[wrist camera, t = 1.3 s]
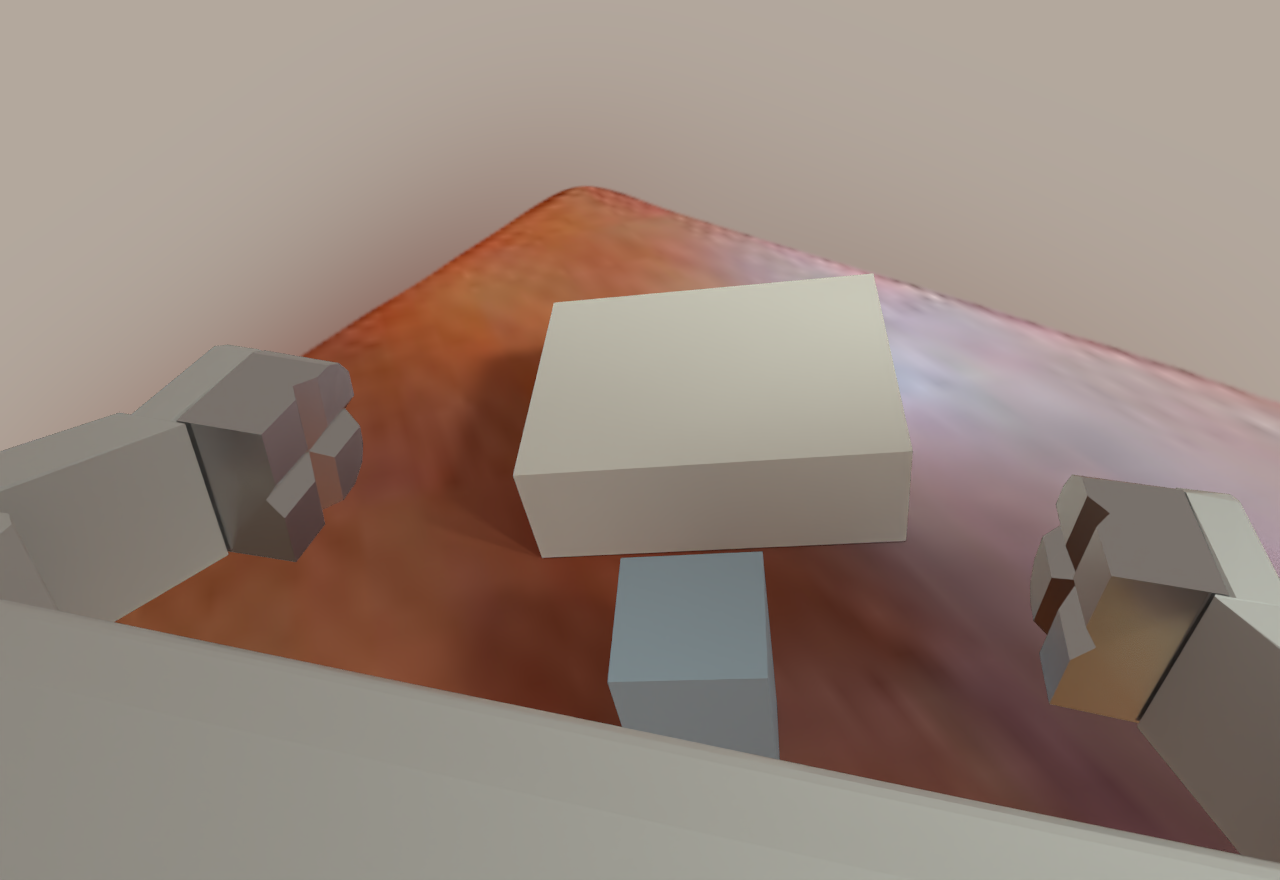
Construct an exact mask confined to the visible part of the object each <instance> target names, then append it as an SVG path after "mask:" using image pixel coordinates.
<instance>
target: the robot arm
mask: <svg viewBox="0 0 1280 880" xmlns="http://www.w3.org/2000/svg"><path fill="white" fill-rule="evenodd" d="M353 396H354V393H353V388H352V384H351V380H350V376H349V371H347V370H346V369H345V368H344V367H343V366H342V365H340V364H339V363H335V362H329V361H323V360H317V359H312V358H306V357H300V356H294V355H289V354H282V353H277V352H271V351H265V350H264V351H261V350H259V349H253V348H246V347H240V346H233V345H222V346H214V347H213V348H212V349H210V350H209V351H208V352H207V353H205V354H204V355H203V356H202V357H200V358H199V359H198V360H197V361H196V362H194V363H193V364H192V365H191V366H190V367H188V368H187V369H186V370H185V371H183V372H182V373H181V374H180V375H179V376H177V377H176V378H175V379H174V380H172V381H171V382H170V383H169V384H168V385H166V386H165V387H164V388H163V389H162V390H160V391H159V392H158V393H157V394H156V395H154V396H153V397H152V398H151V399H150V400H148V401H147V402H146V403H145V404H143V405H142V406H141V407H140V408H138V409H137V410H136V411H135V412H134V413H132V414H123V413H116V414H114V415H110V416H108V417H104V418H101V419H98V420H95V421H92V422H89V423H86V424H83V425H80V426H77V427H73V428H71V429H67V430H64V431H61V432H58V433H55V434H52V435H49V436H46V437H43V438H40V439H37V440H34V441H31V442H28V443H25V444H21V445H19V446H15V447H12V448H9V449H6V450H3V451H0V880H1280V579H1279V577H1278V575H1277V573H1276V571H1275V569H1274V567H1273V565H1272V563H1271V561H1270V559H1269V557H1268V555H1267V554H1266V552H1265V550H1264V548H1263V546H1262V544H1261V542H1260V540H1259V538H1258V536H1257V534H1256V532H1255V530H1254V528H1253V526H1252V525H1251V523H1250V521H1249V519H1248V517H1247V515H1246V513H1245V511H1244V509H1243V507H1242V505H1241V503H1240V502H1239V501H1238V500H1237V499H1236V498H1234V497H1233V496H1231V495H1230V494H1223V493H1215V492H1207V491H1199V490H1190V489H1182V488H1176V489H1173V488H1166V487H1159V486H1151V485H1144V484H1137V483H1129V482H1122V481H1115V480H1108V479H1100V478H1093V477H1086V476H1079V475H1071V477H1070V478H1069V479H1068V481H1067V482H1066V483H1065V485H1064V486H1063V489H1062V491H1061V493H1060V496H1059V498H1058V501H1057V503H1056V507H1057V512H1058V516H1059V520H1060V526H1059V527H1057V528H1055V529H1054V530H1052V531H1051V532H1049V533H1047V534H1046V535H1044V536H1043V537H1042V540H1041V543H1040V546H1039V548H1038V551H1037V554H1036V557H1035V559H1034V564H1033V570H1032V576H1031V582H1030V603H1031V609H1032V615H1033V621H1034V622H1035V623H1036V624H1037V625H1038V626H1039V627H1040V628H1041V629H1042V630H1043V631H1044V632H1045V633H1046V634H1047V637H1046V639H1045V641H1044V644H1043V646H1042V648H1041V651H1040V653H1039V654H1040V659H1041V664H1042V669H1043V675H1044V680H1045V685H1046V690H1047V695H1048V700H1049V704H1051V705H1056V706H1061V707H1065V708H1070V709H1075V710H1079V711H1084V712H1089V713H1093V714H1098V715H1103V716H1107V717H1112V718H1117V719H1121V720H1126V721H1131V722H1135V723H1139V724H1138V725H1137V727H1138V729H1139V730H1140V731H1141V732H1142V734H1143V735H1144V736H1145V737H1146V739H1147V740H1148V741H1149V742H1150V743H1151V745H1152V746H1153V747H1154V748H1155V750H1156V751H1157V752H1158V753H1159V755H1160V756H1161V757H1162V758H1163V759H1164V761H1165V762H1166V763H1167V764H1168V766H1169V767H1170V768H1171V769H1172V771H1173V772H1174V773H1175V774H1176V775H1177V777H1178V778H1179V779H1180V780H1181V782H1182V783H1183V784H1184V785H1185V786H1186V788H1187V789H1188V790H1189V791H1190V793H1191V794H1192V795H1193V796H1194V798H1195V799H1196V800H1197V801H1198V802H1199V804H1200V805H1201V806H1202V807H1203V809H1204V810H1205V811H1206V812H1207V814H1208V815H1209V816H1210V817H1211V818H1212V820H1213V821H1214V822H1215V823H1216V825H1217V826H1218V827H1219V828H1220V830H1221V831H1222V832H1223V833H1224V834H1225V836H1226V837H1227V838H1228V839H1229V841H1230V842H1231V843H1232V844H1233V846H1234V847H1235V848H1236V849H1237V850H1238V852H1239V853H1240V854H1241V855H1239V854H1234V853H1229V852H1224V851H1219V850H1214V849H1210V848H1205V847H1200V846H1195V845H1190V844H1185V843H1181V842H1176V841H1171V840H1166V839H1161V838H1156V837H1151V836H1146V835H1142V834H1137V833H1132V832H1127V831H1122V830H1117V829H1112V828H1107V827H1102V826H1097V825H1093V824H1088V823H1083V822H1078V821H1073V820H1068V819H1063V818H1058V817H1053V816H1048V815H1044V814H1039V813H1034V812H1029V811H1024V810H1019V809H1014V808H1009V807H1004V806H999V805H995V804H990V803H985V802H980V801H975V800H970V799H965V798H961V797H956V796H951V795H946V794H941V793H937V792H932V791H927V790H922V789H918V788H913V787H908V786H903V785H898V784H894V783H889V782H884V781H879V780H874V779H870V778H865V777H860V776H855V775H850V774H846V773H841V772H836V771H831V770H826V769H822V768H817V767H812V766H807V765H802V764H798V763H793V762H788V761H783V760H778V759H774V758H769V757H764V756H759V755H754V754H750V753H745V752H740V751H735V750H731V749H726V748H721V747H716V746H711V745H707V744H702V743H697V742H692V741H687V740H683V739H678V738H673V737H668V736H663V735H658V734H653V733H649V732H644V731H639V730H634V729H629V728H624V727H619V726H615V725H610V724H605V723H600V722H595V721H590V720H585V719H581V718H576V717H571V716H566V715H561V714H556V713H551V712H547V711H542V710H537V709H532V708H527V707H522V706H517V705H513V704H508V703H503V702H498V701H493V700H488V699H483V698H479V697H474V696H469V695H464V694H459V693H454V692H449V691H445V690H440V689H435V688H430V687H425V686H420V685H415V684H411V683H406V682H401V681H396V680H391V679H386V678H381V677H377V676H372V675H367V674H362V673H357V672H352V671H348V670H343V669H338V668H333V667H328V666H323V665H319V664H314V663H309V662H304V661H299V660H294V659H289V658H285V657H280V656H275V655H270V654H265V653H260V652H256V651H251V650H246V649H241V648H236V647H231V646H227V645H222V644H217V643H212V642H207V641H202V640H198V639H193V638H188V637H183V636H178V635H173V634H168V633H164V632H159V631H154V630H149V629H144V628H139V627H135V626H130V625H125V624H120V623H115V621H117V620H118V619H120V618H122V617H124V616H125V615H127V614H129V613H130V612H132V611H134V610H135V609H137V608H139V607H140V606H142V605H144V604H146V603H147V602H149V601H151V600H152V599H154V598H156V597H157V596H159V595H161V594H163V593H164V592H166V591H168V590H169V589H171V588H173V587H174V586H176V585H178V584H180V583H181V582H183V581H185V580H186V579H188V578H190V577H191V576H193V575H195V574H197V573H198V572H200V571H202V570H203V569H205V568H207V567H208V566H210V565H212V564H214V563H215V562H217V561H219V560H220V559H222V558H224V557H225V556H227V555H228V551H230V552H236V553H243V554H249V555H255V556H262V557H268V558H274V559H280V560H287V561H293V562H297V560H298V559H299V558H300V556H301V555H302V554H303V552H304V551H305V550H306V549H307V547H308V546H309V545H310V543H311V542H312V541H313V539H314V538H315V537H316V535H317V534H318V533H319V532H320V530H321V529H322V528H323V526H324V525H325V522H324V517H323V512H322V510H323V509H325V508H327V507H329V506H332V505H334V504H336V503H338V502H340V501H342V500H344V498H345V497H346V496H347V494H348V493H349V491H350V490H351V489H352V487H353V486H354V484H355V482H356V479H357V476H358V473H359V470H360V467H361V464H362V453H363V441H362V435H361V429H360V426H359V424H358V423H357V422H356V421H355V420H354V418H353V417H352V416H351V415H350V414H349V413H348V411H347V410H346V409H345V408H346V406H347V405H348V403H349V402H350V401H351V399H352V398H353Z"/></svg>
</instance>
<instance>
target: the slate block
mask: <svg viewBox="0 0 1280 880" xmlns="http://www.w3.org/2000/svg"><path fill="white" fill-rule="evenodd" d="M608 685H609V688H610V691H611V694H612V697H613V700H614V704H615V707H616V710H617V713H618V716H619V719H620V722H621V725H622V727H624V728H629V729H634V730H639V731H644V732H649V733H653V734H658V735H663V736H668V737H673V738H678V739H683V740H687V741H692V742H697V743H702V744H707V745H711V746H716V747H721V748H726V749H731V750H735V751H740V752H745V753H750V754H754V755H759V756H764V757H769V758H774V759H778V760H780V756H779V735H778V715H777V699H776V688H775V678H774V667H773V657H772V646H771V635H770V625H769V614H768V604H767V593H766V583H765V572H764V561H763V551H762V552H740V553H719V554H697V555H675V556H654V557H632V558H621V560H620V570H619V579H618V589H617V598H616V607H615V617H614V626H613V636H612V645H611V654H610V664H609V673H608Z"/></svg>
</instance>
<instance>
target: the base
mask: <svg viewBox="0 0 1280 880" xmlns="http://www.w3.org/2000/svg"><path fill="white" fill-rule="evenodd" d="M912 454H913V450H912V446H911V441H910V437H909V432H908V428H907V423H906V419H905V414H904V410H903V405H902V401H901V396H900V392H899V387H898V383H897V378H896V374H895V369H894V365H893V360H892V356H891V351H890V347H889V342H888V338H887V333H886V329H885V324H884V320H883V315H882V311H881V306H880V302H879V297H878V293H877V288H876V284H875V279H874V275H873V274H863V275H852V276H841V277H830V278H819V279H809V280H798V281H787V282H776V283H765V284H754V285H743V286H732V287H721V288H710V289H699V290H688V291H677V292H666V293H656V294H645V295H634V296H623V297H612V298H601V299H590V300H579V301H568V302H557V303H554V305H553V309H552V313H551V318H550V322H549V326H548V330H547V334H546V339H545V343H544V347H543V351H542V355H541V360H540V364H539V368H538V372H537V376H536V381H535V385H534V389H533V393H532V397H531V401H530V406H529V410H528V414H527V418H526V422H525V427H524V431H523V435H522V439H521V443H520V448H519V452H518V456H517V460H516V464H515V469H514V473H513V478H514V481H515V483H516V486H517V489H518V492H519V495H520V497H521V500H522V503H523V506H524V509H525V511H526V514H527V517H528V520H529V523H530V526H531V528H532V531H533V534H534V537H535V540H536V542H537V545H538V548H539V551H540V554H541V556H542V558H549V557H571V556H592V555H614V554H635V553H657V552H678V551H700V550H721V549H743V548H764V547H786V546H807V545H829V544H850V543H872V542H893V541H906V535H907V521H908V508H909V494H910V481H911V467H912Z"/></svg>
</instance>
